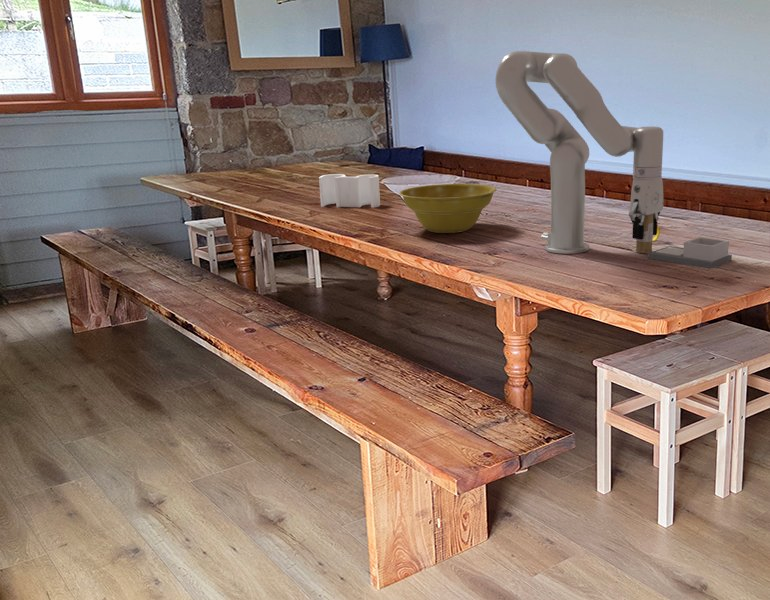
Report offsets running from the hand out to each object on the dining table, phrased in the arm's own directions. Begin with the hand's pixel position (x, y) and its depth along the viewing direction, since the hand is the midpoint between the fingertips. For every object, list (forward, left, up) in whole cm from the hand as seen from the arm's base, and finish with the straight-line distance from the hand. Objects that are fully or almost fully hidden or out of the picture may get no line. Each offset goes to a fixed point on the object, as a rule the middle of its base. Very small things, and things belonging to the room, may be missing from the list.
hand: (644, 236), depth 229 cm
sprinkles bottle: (0, 0, -5) cm, 5 cm away
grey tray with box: (+14, -1, -5) cm, 15 cm away
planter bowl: (-68, -9, -5) cm, 69 cm away
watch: (-6, +13, -5) cm, 15 cm away
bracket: (-135, +4, -5) cm, 135 cm away
